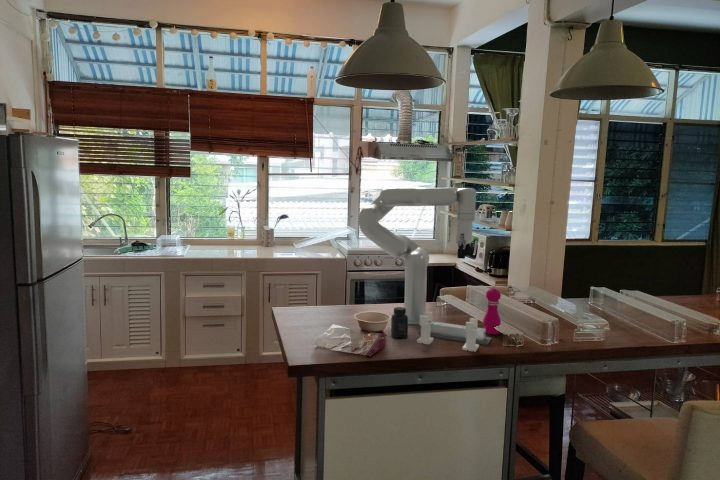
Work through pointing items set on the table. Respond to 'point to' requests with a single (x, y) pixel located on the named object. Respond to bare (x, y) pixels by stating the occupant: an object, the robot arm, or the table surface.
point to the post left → (425, 328)
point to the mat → (460, 338)
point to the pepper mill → (492, 311)
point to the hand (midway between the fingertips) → (464, 256)
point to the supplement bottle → (399, 324)
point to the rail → (455, 330)
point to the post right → (471, 335)
